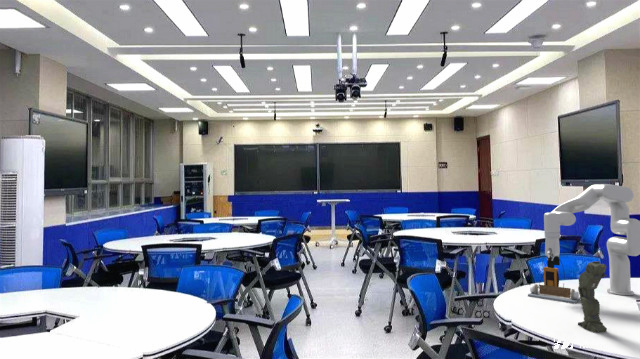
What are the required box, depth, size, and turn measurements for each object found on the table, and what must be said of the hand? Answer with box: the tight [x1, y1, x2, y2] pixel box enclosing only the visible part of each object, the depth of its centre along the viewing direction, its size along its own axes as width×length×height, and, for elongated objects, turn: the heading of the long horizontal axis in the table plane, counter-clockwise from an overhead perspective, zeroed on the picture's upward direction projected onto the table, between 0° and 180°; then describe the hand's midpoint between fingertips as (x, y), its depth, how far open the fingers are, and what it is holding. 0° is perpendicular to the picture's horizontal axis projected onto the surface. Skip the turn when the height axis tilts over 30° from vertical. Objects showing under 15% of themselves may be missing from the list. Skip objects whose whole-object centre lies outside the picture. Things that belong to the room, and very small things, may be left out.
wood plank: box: [538, 284, 572, 298], centre depth 230 cm, size 15×2×5 cm, turn 47°
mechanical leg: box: [577, 260, 608, 333], centre depth 178 cm, size 14×7×30 cm, turn 5°
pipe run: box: [527, 283, 581, 304], centre depth 231 cm, size 12×23×6 cm, turn 45°
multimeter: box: [538, 255, 565, 289], centre depth 251 cm, size 15×10×20 cm
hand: (553, 266), depth 231 cm, fingers open, 9 cm apart
